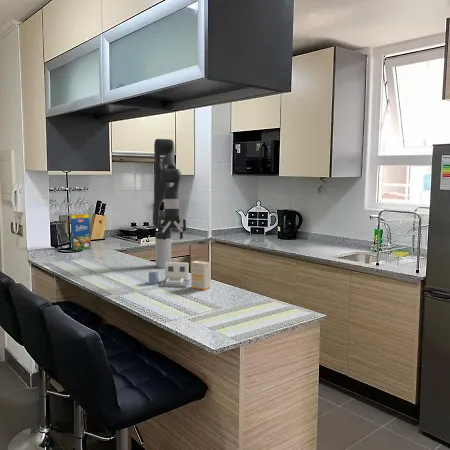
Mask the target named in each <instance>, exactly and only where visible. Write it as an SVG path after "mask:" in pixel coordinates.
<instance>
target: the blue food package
mask: <svg viewBox="0 0 450 450" xmlns="http://www.w3.org/2000/svg"><path fill="white" fill-rule="evenodd" d="M70 238H71V239H70V240H71V250H72V251H75V250H76V251H78V250H88V249H91V223H90V217H89V214H88V213H86V214H85V213H84V214H71V219H70Z"/></svg>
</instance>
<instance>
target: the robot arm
mask: <svg viewBox="0 0 450 450" xmlns="http://www.w3.org/2000/svg"><path fill="white" fill-rule="evenodd" d="M153 147H154V155H153V156H154V177H153V209H152V226H154V227H155V228H157V231H158V232H156V233H155V235H154V237H155V239H154V240H155V241H154V242H155V267H156V268H158V269H165V262H172V229H174V228H175V229H177V230H178V231H179V240H183V238H184V232H186V231H187V222H186V221H187V220H186V219H184V218H183V219H181V218H180V203H179V187H180V182H181V180H182V179H181V178H182V172H181V170H180V169H179V168H177V165H176V162H175V161H176V160H175V155H176V154H175V152H176V151H175V149H176V148H175V142H174V140H173V139H168V138H156V139H155V140H154V144H153ZM161 156H163V158H162V159H161ZM172 183H173V185H172V186H171V184H172ZM162 203H163V209H164V210H163V211H162V210H160V209H161V206H162ZM180 223H181V224H182V227H183V228H182V227H181V226H180V225H179V224H180Z"/></svg>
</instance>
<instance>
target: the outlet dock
mask: <svg viewBox="0 0 450 450" xmlns="http://www.w3.org/2000/svg"><path fill="white" fill-rule="evenodd" d="M189 283H190V279H189V262H179V261H177V262H175V261H174V262H172V261H171V262H165V268H164V279H163V281H161V283H160V284H159V287H161V288H187V286H188V284H189Z"/></svg>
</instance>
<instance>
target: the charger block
mask: <svg viewBox="0 0 450 450" xmlns="http://www.w3.org/2000/svg"><path fill="white" fill-rule="evenodd" d="M158 284H159V271H158V270H150V271H148V285H158Z"/></svg>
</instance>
